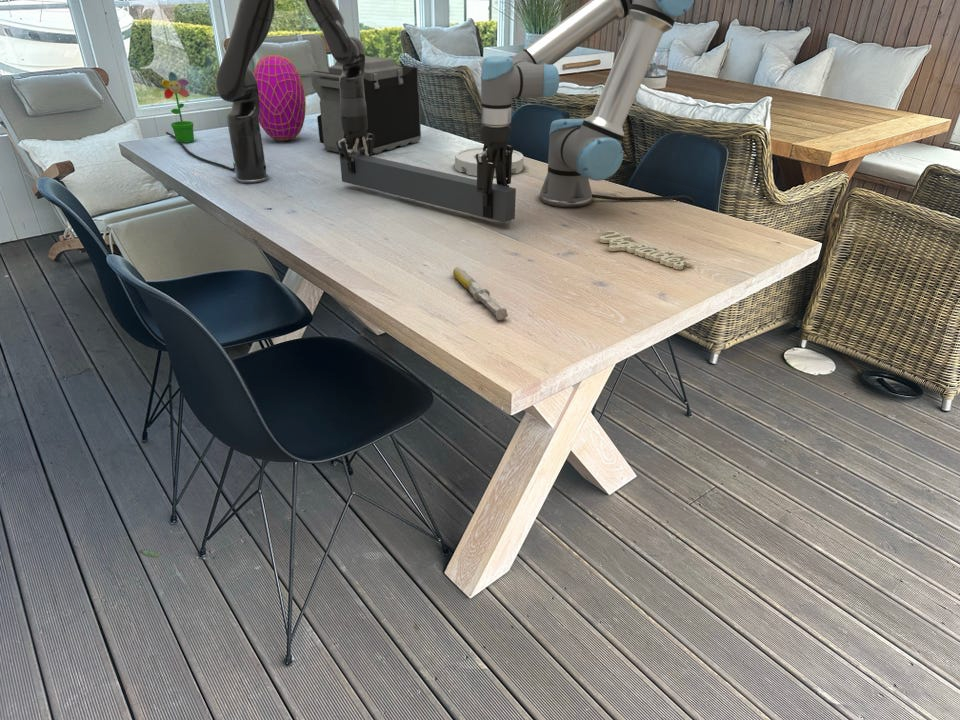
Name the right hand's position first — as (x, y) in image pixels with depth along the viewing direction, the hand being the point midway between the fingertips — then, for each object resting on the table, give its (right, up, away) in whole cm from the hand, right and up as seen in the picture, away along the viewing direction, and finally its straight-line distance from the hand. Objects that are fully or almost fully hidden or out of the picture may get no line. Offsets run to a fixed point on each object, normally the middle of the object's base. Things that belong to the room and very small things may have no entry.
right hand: (493, 214), depth 183 cm
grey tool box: (-45, +42, +75) cm, 97 cm away
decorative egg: (-79, +46, +81) cm, 123 cm away
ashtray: (-1, +27, +50) cm, 57 cm away
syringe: (-4, -26, -38) cm, 46 cm away
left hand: (-41, +18, +25) cm, 51 cm away
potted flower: (-115, +44, +78) cm, 146 cm away
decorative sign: (+35, -13, -15) cm, 41 cm away
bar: (-20, +7, +13) cm, 25 cm away
